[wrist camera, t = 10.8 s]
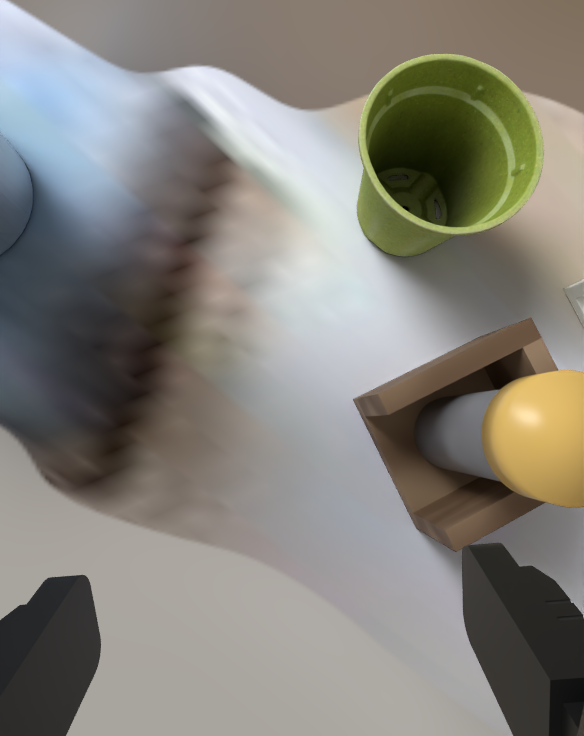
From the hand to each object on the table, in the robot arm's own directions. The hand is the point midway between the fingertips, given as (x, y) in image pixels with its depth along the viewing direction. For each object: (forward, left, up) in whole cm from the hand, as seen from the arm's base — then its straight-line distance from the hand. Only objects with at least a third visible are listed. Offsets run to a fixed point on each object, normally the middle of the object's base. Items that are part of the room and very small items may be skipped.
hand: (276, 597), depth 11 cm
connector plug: (+2, +12, -19) cm, 23 cm away
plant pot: (-12, +16, -21) cm, 29 cm away
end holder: (+2, +12, -20) cm, 24 cm away
